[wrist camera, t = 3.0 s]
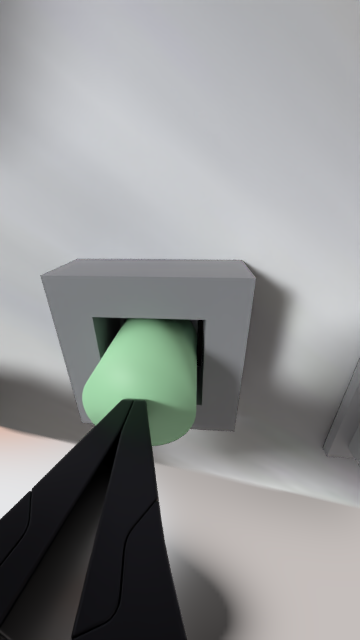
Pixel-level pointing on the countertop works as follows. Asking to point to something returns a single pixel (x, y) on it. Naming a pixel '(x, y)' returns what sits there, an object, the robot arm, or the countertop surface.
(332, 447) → the grey square socket
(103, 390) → the button
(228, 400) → the switch box
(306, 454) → the countertop surface
